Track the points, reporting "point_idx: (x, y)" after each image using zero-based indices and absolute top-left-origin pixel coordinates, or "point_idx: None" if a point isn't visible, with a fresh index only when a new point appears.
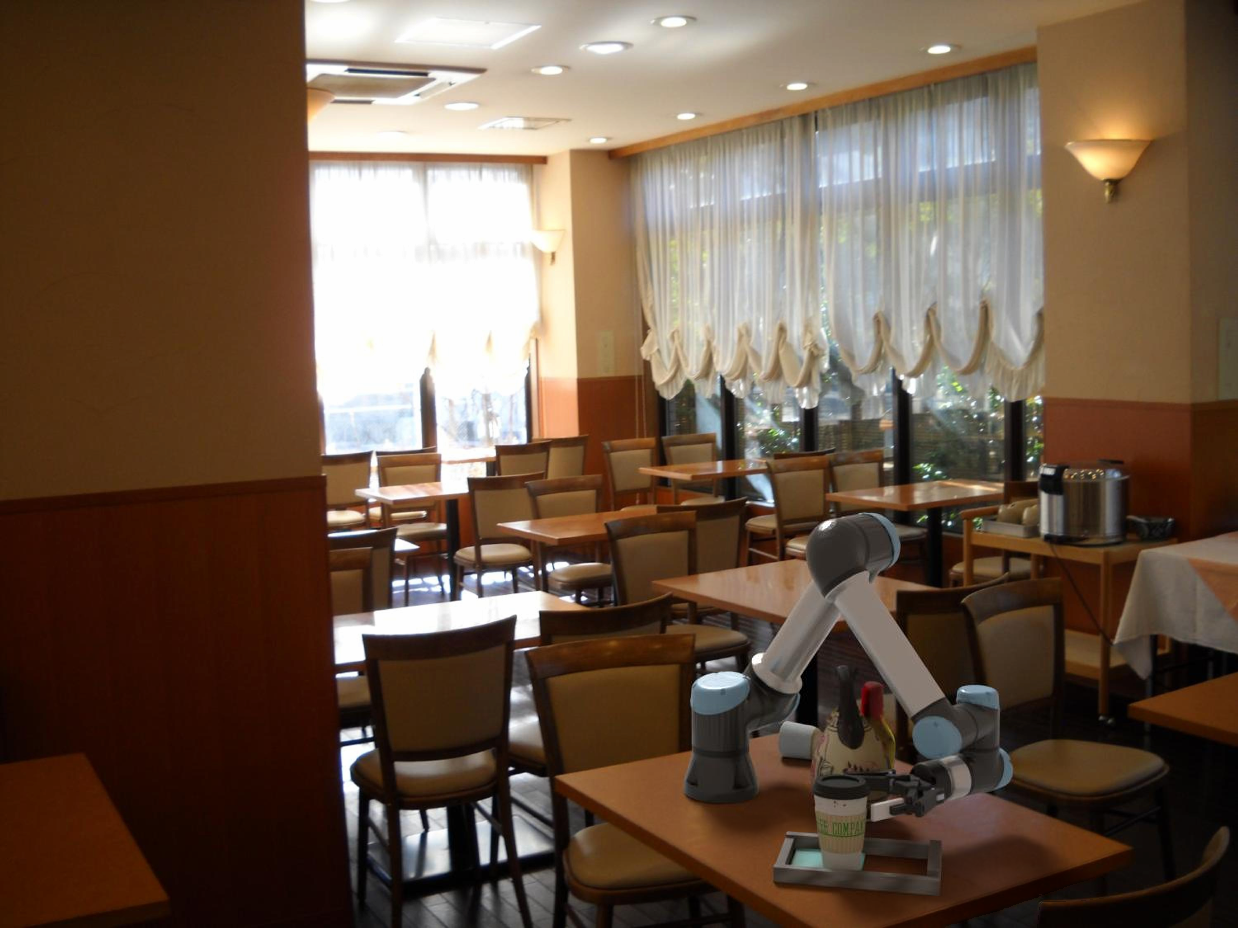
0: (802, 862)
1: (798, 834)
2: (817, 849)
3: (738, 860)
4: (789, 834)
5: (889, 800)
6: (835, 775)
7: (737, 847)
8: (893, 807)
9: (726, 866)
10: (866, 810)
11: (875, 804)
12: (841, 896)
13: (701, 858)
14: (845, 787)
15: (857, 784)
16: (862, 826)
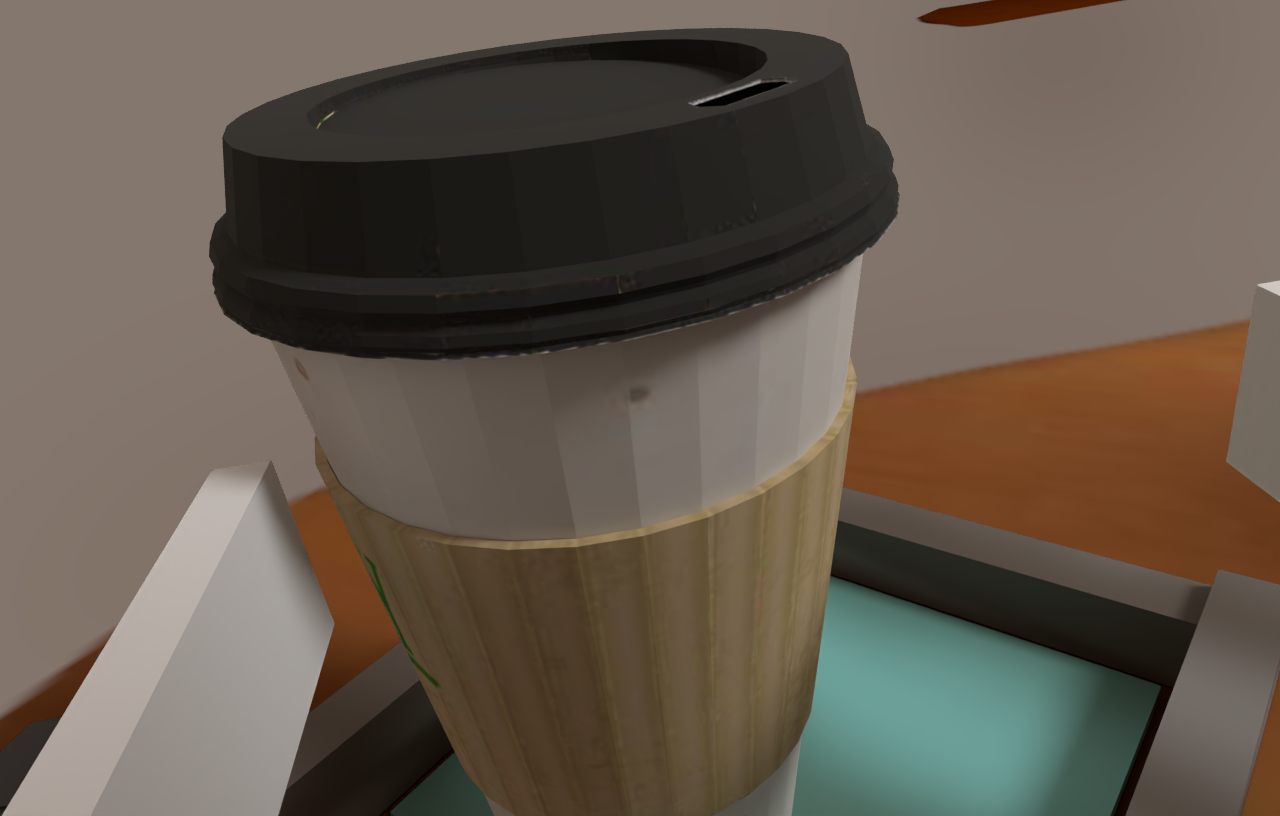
0: (855, 637)
1: (1217, 634)
2: (1109, 801)
3: (995, 443)
4: (1215, 587)
5: (147, 689)
6: (767, 68)
7: (1206, 466)
8: (34, 736)
9: (926, 405)
10: (370, 519)
11: (229, 497)
12: (337, 670)
13: (1045, 362)
14: (302, 92)
15: (282, 128)
16: (375, 587)
